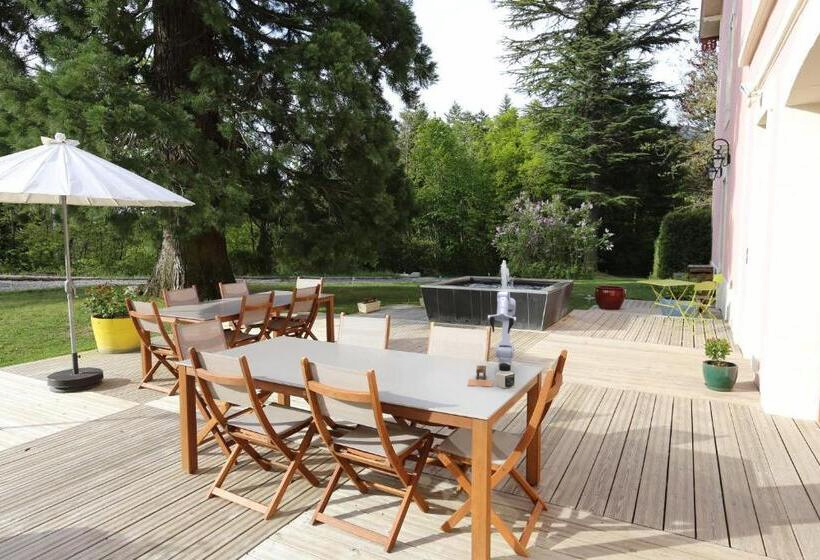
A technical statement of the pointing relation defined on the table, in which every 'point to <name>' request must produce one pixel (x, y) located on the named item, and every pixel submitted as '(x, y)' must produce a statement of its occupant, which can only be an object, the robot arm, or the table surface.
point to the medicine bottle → (505, 376)
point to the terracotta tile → (480, 383)
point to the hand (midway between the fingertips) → (500, 331)
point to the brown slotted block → (481, 371)
